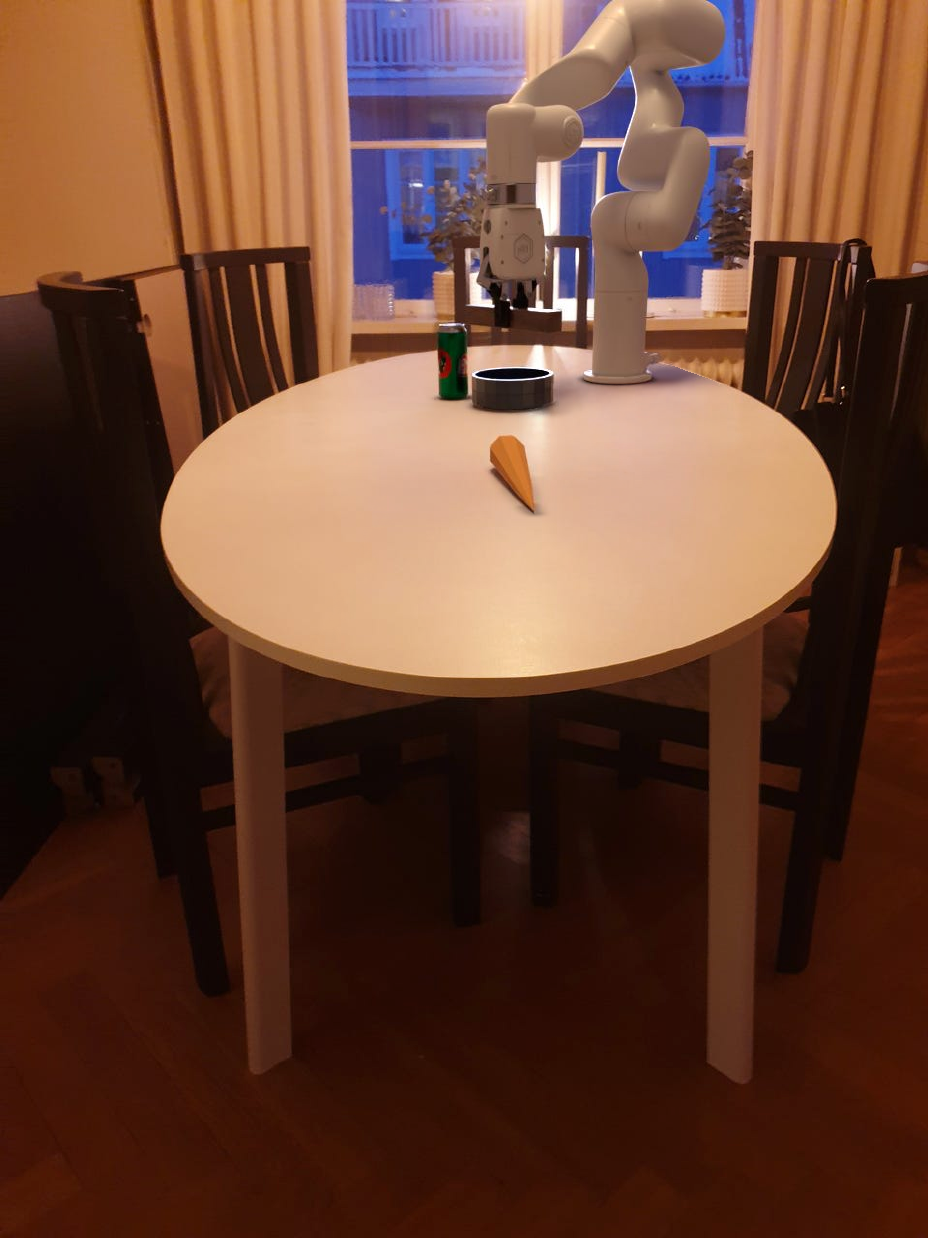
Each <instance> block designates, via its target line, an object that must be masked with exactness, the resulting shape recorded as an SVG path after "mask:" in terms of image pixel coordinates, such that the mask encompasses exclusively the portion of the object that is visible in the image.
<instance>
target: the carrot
mask: <svg viewBox="0 0 928 1238" xmlns="http://www.w3.org/2000/svg"><path fill="white" fill-rule="evenodd" d="M526 453H527V452H526V448H525V444H524V443H522V442H521V441H520V440H519V439H518V438H517V437H516V436H514V435H512V434H511V435H499V436H498V437H497V438H496V439H494V441H493V442H492V443H491V444H490V446H489V462H490V463H491V464H492V465H493V467H494V468H495V469H496V470H497V472H498V473H499V474H500V475H501V477H502V478H503V480H504V481H505V482H506V483H507V484H508V485H509V487H510V488H511V489H512V490H513V492H514V493H515V494H516V495H517V496H518V498H519V499H521V500H522V501H523V502H524V504H526V505H527V506H528V507H529V508H530V509H531V510H532V511H533V512H535V505H534V493H533V491H534V490H533V483H532V478H531V473H530V468H529V463H528V458H527V454H526Z"/></svg>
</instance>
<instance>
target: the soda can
mask: <svg viewBox="0 0 928 1238" xmlns="http://www.w3.org/2000/svg"><path fill="white" fill-rule="evenodd" d="M465 325H466V324H465V323H458V322H456V323H455V322H454V323H453V322H452V323H451V322H450V323H441V324H438V329H437V331H436V347H437V349H436V351H437V352H436V353H437V374H438V377H437V378H438V379H437V380H438V396H439V397H440V399H442V400H448V401H457V400H463V399H466V398H467V397H468V395H469V364H468V363H469V362H468V358H469V357H468V330H467V328H465Z"/></svg>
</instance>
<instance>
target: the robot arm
mask: <svg viewBox="0 0 928 1238" xmlns="http://www.w3.org/2000/svg"><path fill="white" fill-rule="evenodd" d="M725 40H726V25H725V19H724V17H723V15H722V12H721V10H720V9H719V8H718V7H717V6H716V5H715V4H713V3H712V2H710V1H708V0H611V1H609V2H608V4H606V6H605V7H603V9H602V10H601V11H600V13H599V14H598V16H597V17H596V18H595V20H594V21H593V22H592V23H591V25H590V26H589V27H588V29H587V30H586V31H585V33H583V35H582V36H581V38H580V39H579V41H578V42H577V43H576V45H575V46H573V48H572V49H571V51H570V52H568V53H567V54H565V55H564V56H562V57H561V58H559V59H557V60H556V61H555V62H553V63H552V64H551V65H549V66H548V67H547V68H545V69H544V70H542V71H541V72H539V73H538V74H537V75H535V76H533V77H532V78H530V79H529V80H528V81H527V82H526V83H525V84H523V85H522V86H521V87H520V88H519V89H518V90H517V91H515V93H514V94H513V96H512V97H511V98H510V99H509V101H508V102H505V103H498V104H495V105H492V106H490V107H489V108H488V110H487V112H486V116H485V117H486V118H485V131H486V132H485V144H486V145H485V146H486V149H485V150H486V151H485V152H486V154H485V155H486V159H485V160H486V162H485V164H486V189H483V191H482V193H481V196H482V199H483V200H485V201H486V208H484V209H483V213H482V219H481V226H480V227H481V228H480V237H479V238H480V239H479V271H478V274H477V277H476V280H475V282H476V284H477V285H479V286H480V287H481V288H483V289H484V290H485V291H486V292H487V293H488V294H489V296H490V300H491V301H493V305H494V324H495V327H494V328H496V327H501V328H500V329H505V328H509V327H510V309H511V307H523V308H529V300H531V299H532V298H533V292H534V291H535V290H536V289H537V286H539V285H540V284H541V283H542V282H543V281H545V279H546V274H545V272H546V263H547V259H546V257H547V256H546V236H545V227H544V226H545V225H544V218H543V213H542V210H541V208H540V207H537V204H538V203H537V202H538V200H537V197H538V191H537V190H538V163H540V164H541V163H555V162H561V161H566V160H567V159H570V158H571V157H573V156H574V155H575V154H577V152H578V151H579V149H580V147H581V145H582V144H583V142H584V141H583V140H584V136H585V135H584V134H585V133H584V131H585V129H584V125H583V122H582V119H581V116H580V115H579V114H578V113H577V111H580V110H583V109H585V108H587V107H589V106H591V105H594V104H596V103H598V102H599V101H601V100H603V99H605V98H606V97H607V96H608V95H609V94H610V93H611V92H612V91H613V89H614V88H615V87H616V86H617V84H618V82H619V81H620V79H621V78H622V77H623V76H624V75H625V72H626V71H628V69H629V70H630V75H631V77H632V83H633V87H634V91H635V105H634V108H633V113H632V117H631V120H630V122H629V125H628V128H627V132H626V135H625V139H624V142H623V145H622V148H621V151H620V153H619V156H618V157H619V158H618V161H617V169H616V174H617V175H616V176H617V179H618V181H619V183H620V185H621V186H622V187H624V188H625V189H628V190H626V191H616V192H612V193H609V194H605V195H604V196H602V197H601V198H600V199H599V200H598V201H597V202H596V203H595V205H594V206H593V209H592V211H591V214H590V234H591V239H592V247H593V257H594V290H593V291H594V293H593V295H594V296H593V300H594V301H593V324H592V325H593V326H592V327H593V328H592V356H591V357H592V358H591V369H587V370H585V371H584V372H583V374H582V375H583V377H582V378H583V379H584V380H585V381H587V382H590V383H597V384H606V385H607V384H610V385H625V384H626V385H627V384H638V383H639V384H640V383H644V382H648V381H650V380H652V377H653V372H652V371H650V370H648V367H649V366H651V365H652V366H653V365H657V364H660V362H661V355H660V354H659V353H657V352H656V353H650V354H649V352H648V351H646V334H647V333H646V332H647V319H648V317H647V316H648V315H647V313H648V298H649V273H648V269H647V266H646V264H645V262H644V260H643V259H642V256H641V254H640V252H669V251H674V250H676V249H678V248H680V247H681V246H682V244H684V242H685V240H686V239H687V237H688V235H689V232H690V230H691V227H692V224H693V221H694V218H695V215H696V213H697V209H698V208H699V207H698V206H699V203H700V201H701V197H702V194H703V191H704V188H705V185H706V181H707V178H708V174H709V172H710V171H709V170H710V165H711V147H710V142H709V139H708V136H707V135H706V133H705V132H704V131H703V130H701V129H700V128H698V127H695V126H689V125H687V126H681V125H682V121H683V118H684V114H685V103H684V99H683V96H682V94H681V92H680V90H679V88H678V87H677V85H676V83H675V81H674V80H673V78H672V75H671V73H670V71H675V70H682V69H689V68H696V67H703V66H705V65H706V66H707V65H709V64H711V63H713V61H715V60H716V59H717V58H718V57H719V55H720V54H721V52H722V50H723V48H724V44H725V42H726V41H725ZM510 280H513V281H514V282H513V283H514V284H513V285H514V295H515V298H512V302H511V300H508V296H509V283H510ZM511 304H512V305H511Z"/></svg>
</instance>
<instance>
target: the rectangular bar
mask: <svg viewBox="0 0 928 1238" xmlns="http://www.w3.org/2000/svg"><path fill="white" fill-rule="evenodd" d="M464 325H469V326H470V325H471V326H478V327H479V326H480V327H488V328H498V329H502V328H501V327H495V324H494V304H483V303H473V304H472V303H471V304H465V305H464ZM504 329H506V330H516V331H523V332H525V331H526V332H533V333H542V334H543V333H544V334H551V333H558V332H559V333H560V332H562V329H563V310H558V309H545V308H535V307H528V308H523V307H512V306H511V309H510V327H509V328H504Z"/></svg>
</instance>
